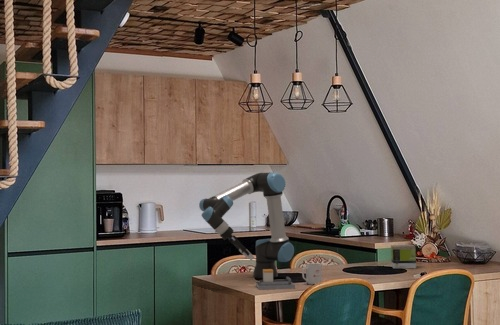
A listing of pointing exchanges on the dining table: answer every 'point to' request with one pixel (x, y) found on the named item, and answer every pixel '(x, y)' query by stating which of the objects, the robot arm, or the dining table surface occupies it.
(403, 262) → the tea box
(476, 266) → the dining table surface
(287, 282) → the grey tray
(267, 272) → the grey orange-topped container
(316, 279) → the mug
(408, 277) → the dining table surface
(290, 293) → the dining table surface
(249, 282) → the dining table surface
